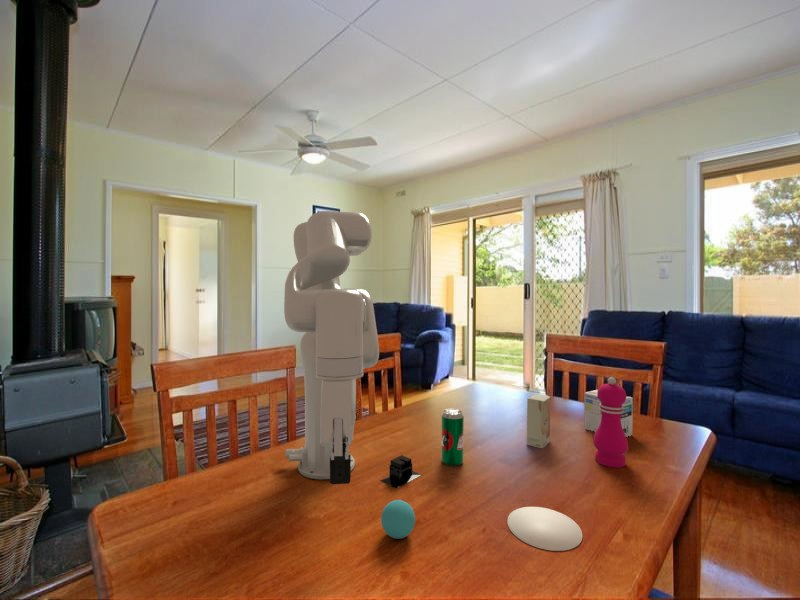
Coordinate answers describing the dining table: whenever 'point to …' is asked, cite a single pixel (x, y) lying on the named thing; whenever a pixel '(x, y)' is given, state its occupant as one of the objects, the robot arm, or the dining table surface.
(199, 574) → the dining table surface
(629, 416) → the light bulb box
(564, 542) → the white rounded object
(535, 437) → the skincare box
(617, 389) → the pepper mill
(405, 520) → the ball
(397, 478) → the black box
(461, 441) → the soda can
